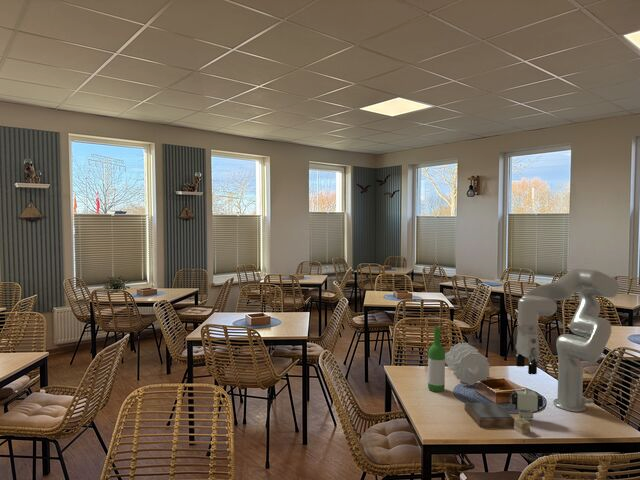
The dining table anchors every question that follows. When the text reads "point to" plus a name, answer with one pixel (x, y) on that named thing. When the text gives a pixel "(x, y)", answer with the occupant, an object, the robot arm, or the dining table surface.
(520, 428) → the oak block
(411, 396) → the dining table surface
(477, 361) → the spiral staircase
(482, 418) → the stand
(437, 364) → the wine bottle
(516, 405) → the pneumatic valve
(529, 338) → the robot arm
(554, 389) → the dining table surface
